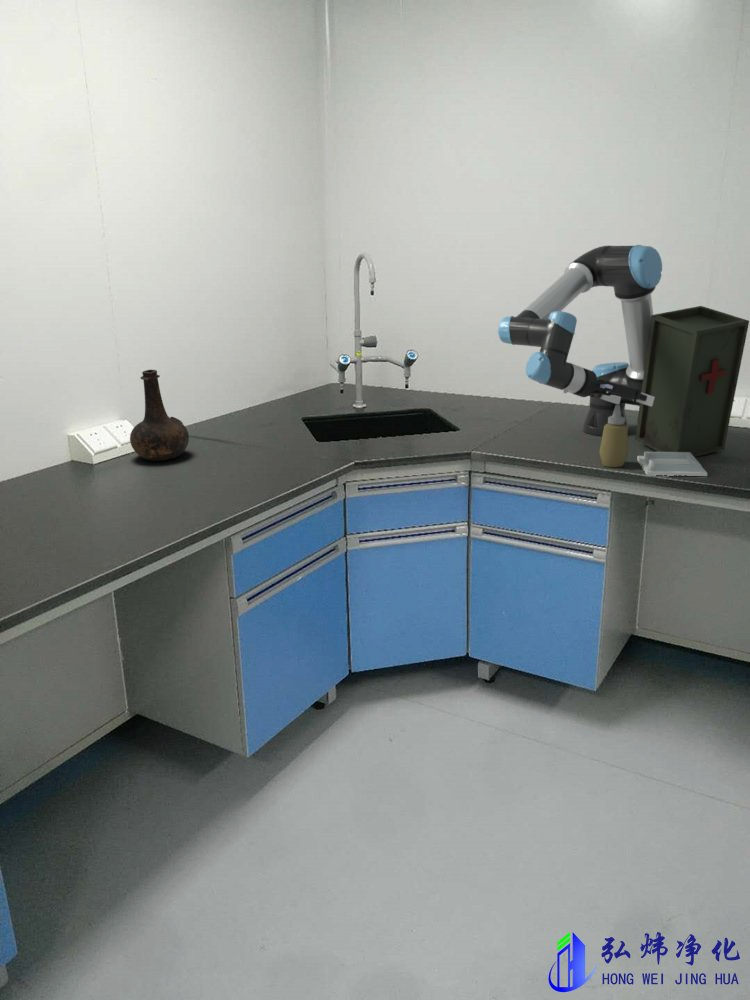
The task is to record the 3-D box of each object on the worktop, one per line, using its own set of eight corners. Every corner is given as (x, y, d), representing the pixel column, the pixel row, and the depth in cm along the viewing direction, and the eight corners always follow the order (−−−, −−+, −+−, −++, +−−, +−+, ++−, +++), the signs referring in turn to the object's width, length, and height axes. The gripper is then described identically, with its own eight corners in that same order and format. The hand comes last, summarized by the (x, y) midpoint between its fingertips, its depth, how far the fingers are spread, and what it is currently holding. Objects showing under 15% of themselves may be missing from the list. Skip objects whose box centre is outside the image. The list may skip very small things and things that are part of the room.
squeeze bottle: (631, 464, 223) (637, 404, 217) (619, 470, 217) (624, 409, 211) (606, 459, 228) (611, 400, 222) (593, 465, 223) (598, 405, 217)
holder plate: (637, 459, 227) (638, 446, 226) (693, 460, 225) (694, 447, 223) (647, 475, 212) (648, 461, 211) (706, 477, 210) (708, 462, 209)
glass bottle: (201, 455, 242) (192, 369, 233) (153, 469, 230) (141, 377, 221) (169, 446, 254) (159, 363, 244) (122, 458, 241) (109, 371, 232)
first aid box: (675, 462, 226) (697, 331, 206) (635, 439, 241) (651, 315, 221) (723, 449, 231) (749, 320, 212) (681, 427, 246) (701, 305, 227)
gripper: (547, 392, 219) (603, 411, 227) (603, 395, 196) (663, 415, 204) (554, 367, 218) (610, 387, 227) (611, 367, 195) (671, 389, 204)
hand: (635, 400), depth 216 cm, fingers open, 13 cm apart
